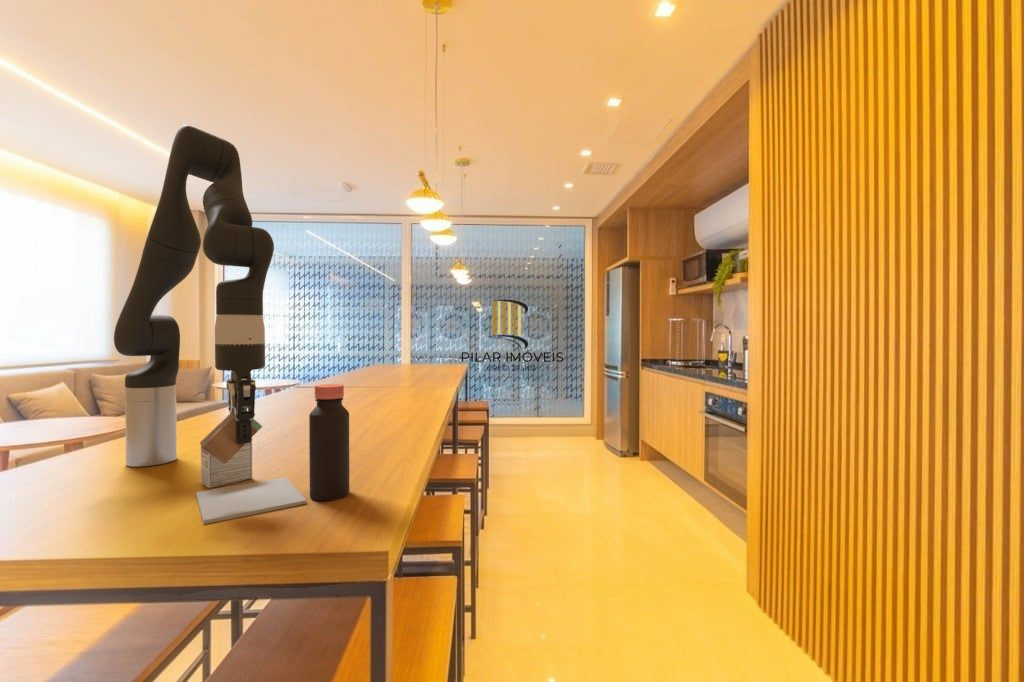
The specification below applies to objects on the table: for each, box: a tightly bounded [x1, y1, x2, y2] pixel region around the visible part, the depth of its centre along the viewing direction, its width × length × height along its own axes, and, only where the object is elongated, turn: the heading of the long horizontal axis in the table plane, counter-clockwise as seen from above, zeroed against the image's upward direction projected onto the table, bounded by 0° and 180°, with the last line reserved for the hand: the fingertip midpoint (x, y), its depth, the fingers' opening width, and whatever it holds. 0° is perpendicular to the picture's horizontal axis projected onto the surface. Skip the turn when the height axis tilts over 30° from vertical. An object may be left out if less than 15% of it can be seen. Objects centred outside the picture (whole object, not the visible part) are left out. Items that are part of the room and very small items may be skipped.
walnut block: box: [199, 409, 263, 464], centre depth 82 cm, size 4×4×8 cm
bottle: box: [308, 383, 350, 502], centre depth 87 cm, size 7×7×20 cm
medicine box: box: [200, 437, 253, 489], centre depth 95 cm, size 8×4×9 cm, turn 141°
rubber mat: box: [195, 476, 307, 525], centre depth 85 cm, size 16×15×1 cm
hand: (241, 439), depth 83 cm, fingers closed on walnut block, 4 cm apart
